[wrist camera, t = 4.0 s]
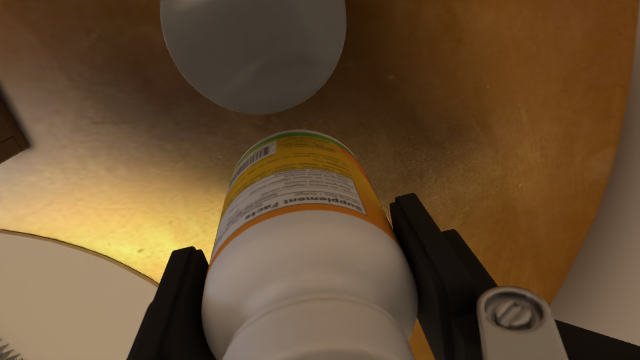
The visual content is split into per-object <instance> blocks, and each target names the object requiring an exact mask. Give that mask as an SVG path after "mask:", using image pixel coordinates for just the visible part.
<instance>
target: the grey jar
mask: <svg viewBox="0 0 640 360" xmlns="http://www.w3.org/2000/svg"><path fill="white" fill-rule="evenodd" d="M160 23H161V28H162V34H163V37H164V41H165V44H166V47H167V49H168V51H169V54H170V56H171V58H172V60H173V62H174V63H175V65H176V67H177V69H178V70H179V71H180V73H181V74H182V75H183V77H184V78H185V79H186V80H187V81H188V82H189V83H190V85H191V86H192V87H193V88H194V89H196V90H197V91H198V92H199V93H200V94H202V95H203V96H204V97H206V98H207V99H209V100H210V101H212V102H214V103H216V104H218V105H220V106H222V107H224V108H227V109H230V110H232V111H236V112H240V113H245V114H256V115H260V114H272V113H278V112H282V111H285V110H288V109H291V108H293V107H295V106H297V105H299V104H301V103H303V102H304V101H306V100H307V99H309V98H310V97H311V96H313V95H314V94H315V93H316V92H318V90H319V89H320V88H321V87H322V86H323V85H324V84H325V83H326V82H327V80H328V79H329V77H330V76H331V75H332V73H333V71H334V69H335V67H336V66H337V64H338V61H339V59H340V56H341V54H342V50H343V46H344V42H345V36H346V28H347V15H346V6H345V0H160Z"/></svg>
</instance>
